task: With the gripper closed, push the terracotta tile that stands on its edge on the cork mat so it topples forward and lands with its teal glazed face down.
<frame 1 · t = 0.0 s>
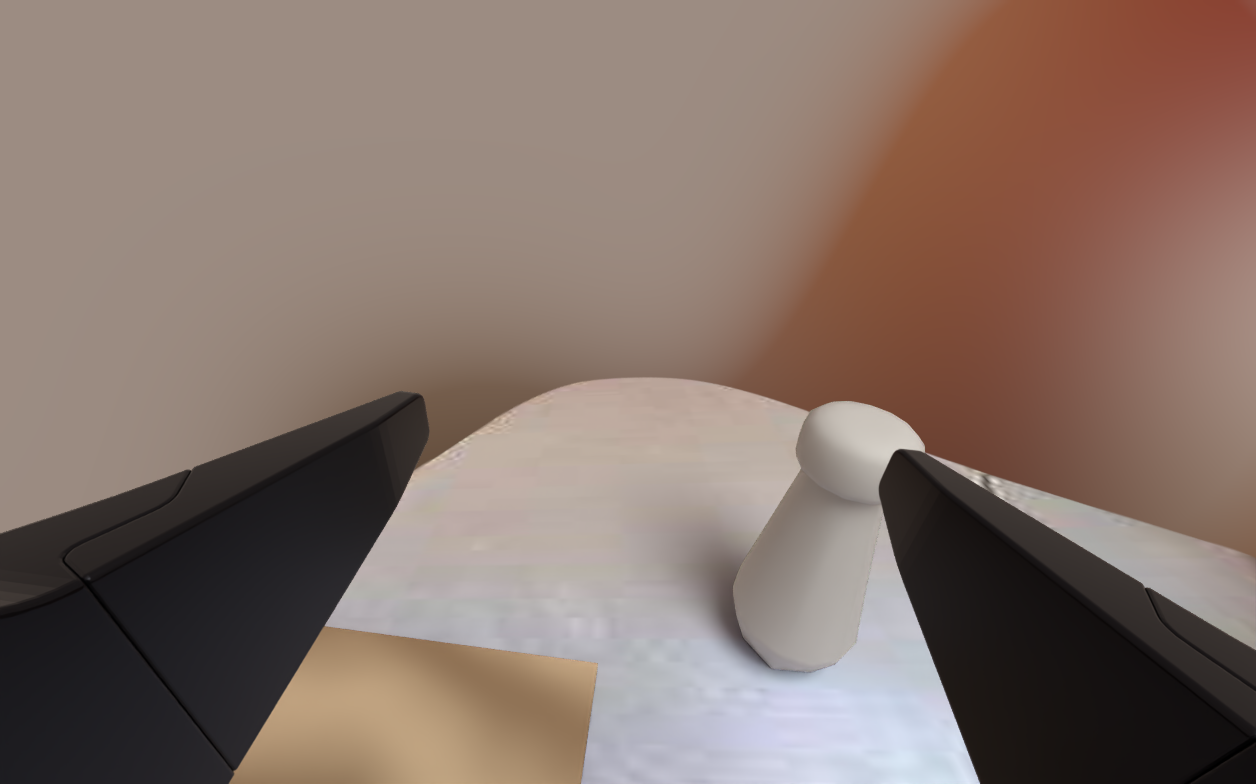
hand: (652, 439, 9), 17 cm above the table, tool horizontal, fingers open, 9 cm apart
salt shaker: (780, 634, 24), on the table
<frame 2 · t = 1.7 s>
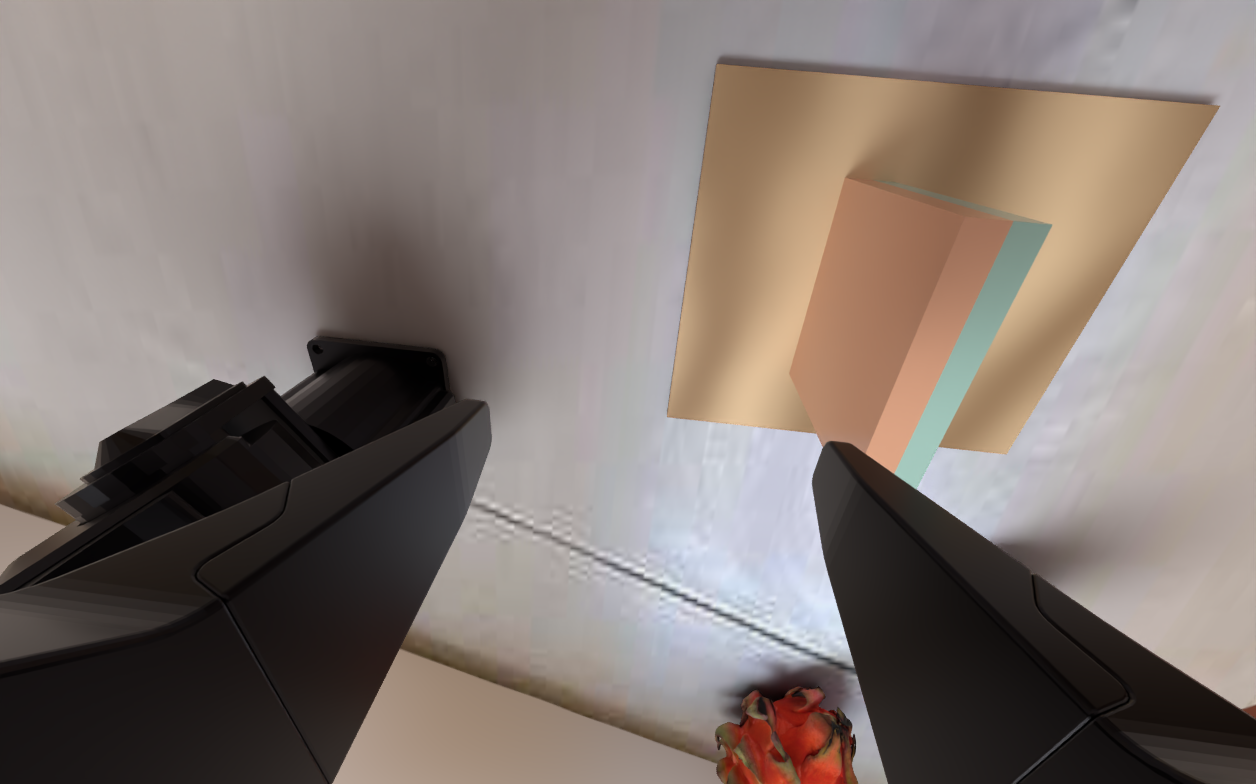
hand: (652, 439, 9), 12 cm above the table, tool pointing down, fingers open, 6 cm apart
tile: (836, 288, 19), resting on cork mat
dragon fruit: (776, 695, 35), on the table
cork mat: (883, 290, 19), on the table
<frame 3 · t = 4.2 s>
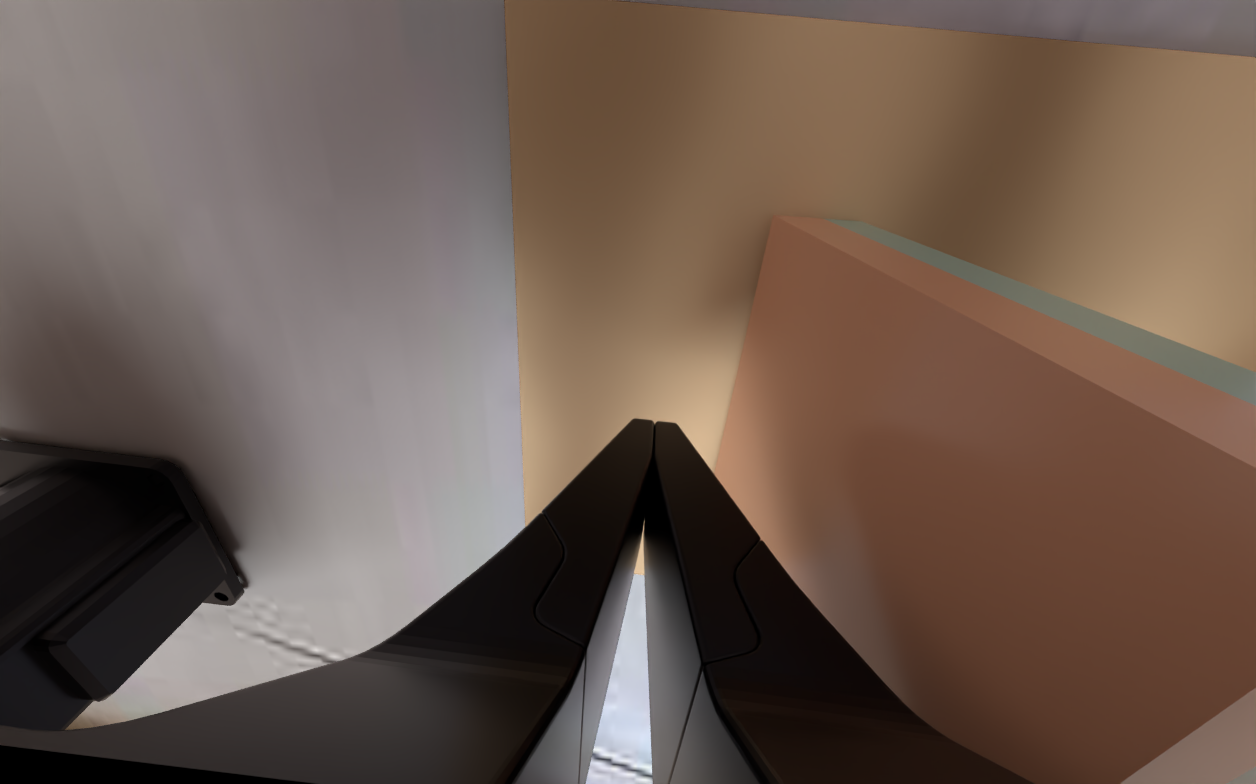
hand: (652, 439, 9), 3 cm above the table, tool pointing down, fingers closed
tile: (769, 396, 11), point 1 cm above the table, tilted 10°, touching cork mat
cork mat: (846, 393, 11), on the table
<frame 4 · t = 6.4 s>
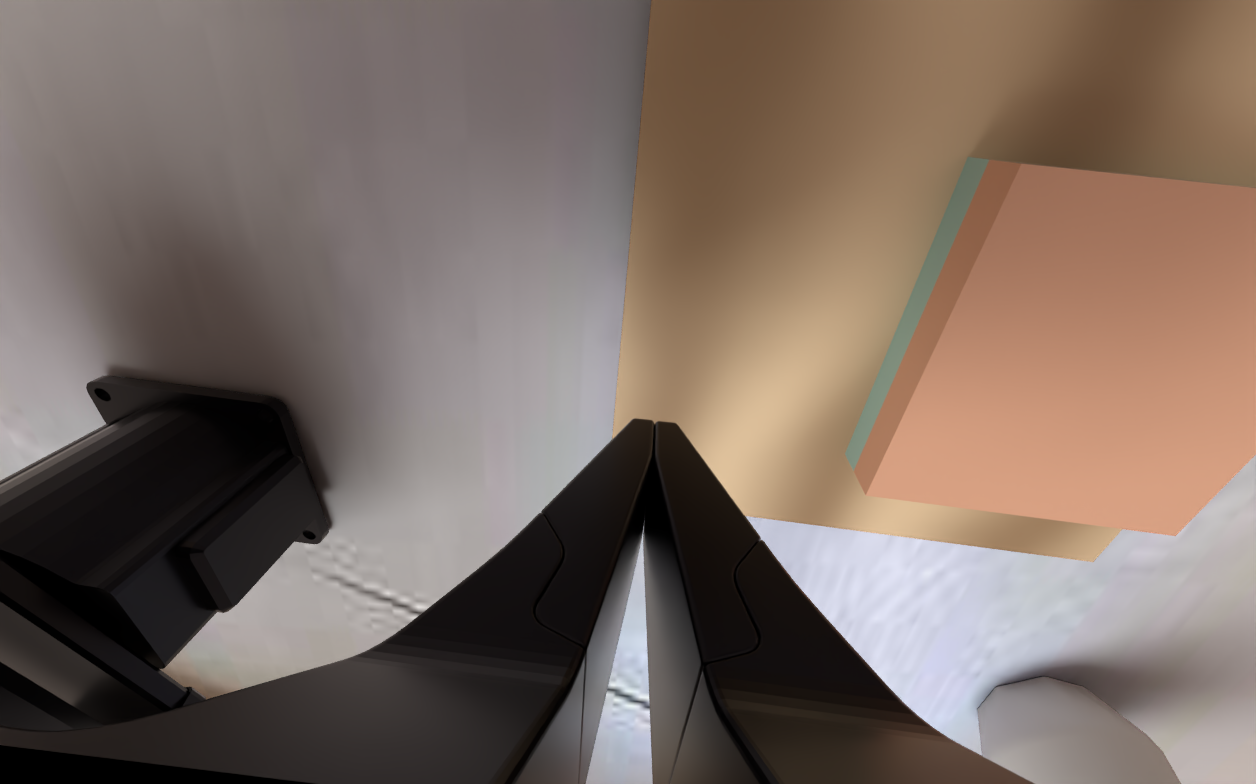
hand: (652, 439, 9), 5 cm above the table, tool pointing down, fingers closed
salt shaker: (1029, 699, 20), on the table
tile: (910, 345, 11), point 1 cm above the table, tilted 90°, touching cork mat
cork mat: (928, 329, 12), on the table
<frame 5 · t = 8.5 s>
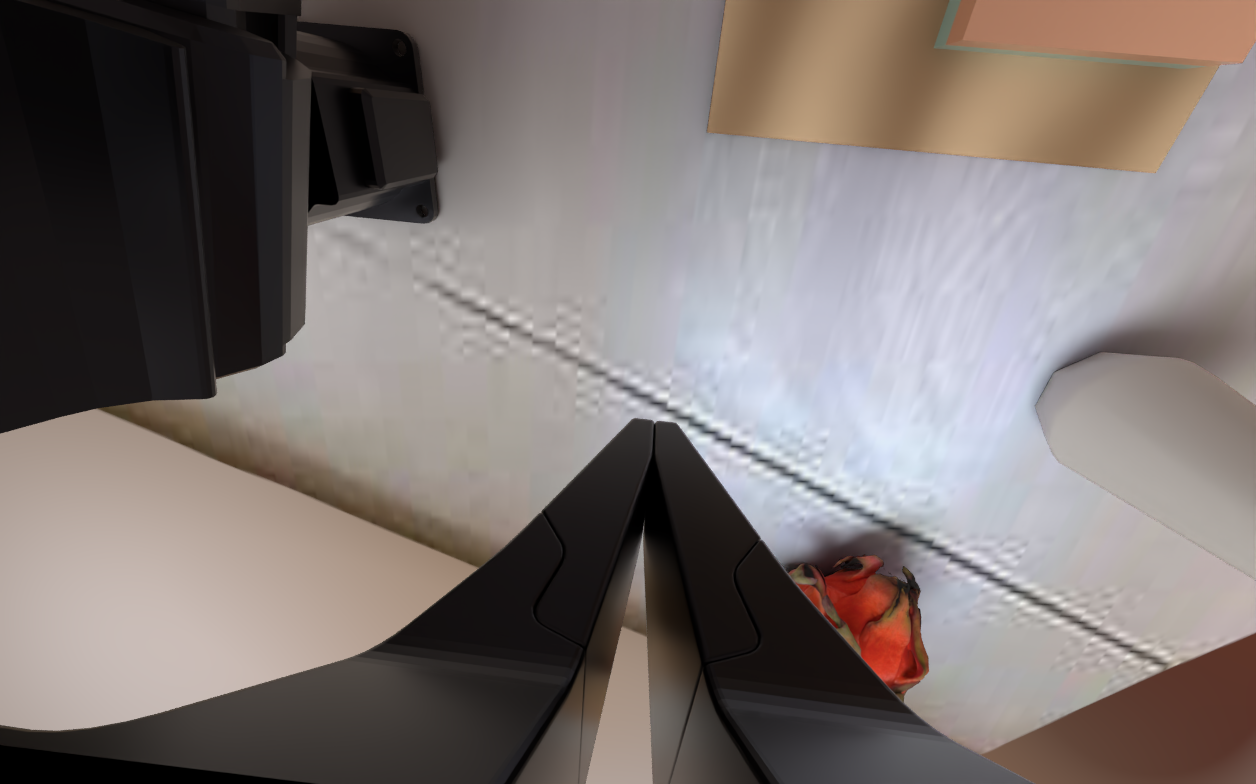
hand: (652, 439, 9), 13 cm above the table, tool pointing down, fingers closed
salt shaker: (1084, 390, 22), on the table
dragon fruit: (818, 579, 30), on the table
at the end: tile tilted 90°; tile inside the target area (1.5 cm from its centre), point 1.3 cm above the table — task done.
